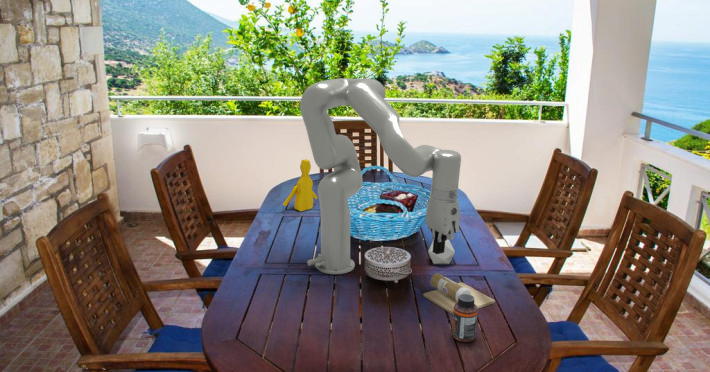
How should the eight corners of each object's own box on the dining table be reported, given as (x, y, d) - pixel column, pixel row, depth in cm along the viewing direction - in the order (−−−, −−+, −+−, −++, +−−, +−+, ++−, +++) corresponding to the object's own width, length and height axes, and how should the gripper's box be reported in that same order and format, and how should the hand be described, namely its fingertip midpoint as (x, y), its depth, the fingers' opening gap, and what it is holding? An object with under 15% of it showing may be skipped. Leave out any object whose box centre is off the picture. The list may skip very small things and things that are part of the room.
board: (455, 316, 158) (455, 313, 158) (423, 296, 169) (423, 293, 169) (494, 302, 166) (495, 300, 165) (461, 284, 177) (461, 281, 177)
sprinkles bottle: (428, 277, 171) (458, 295, 160) (439, 269, 173) (469, 286, 162) (432, 289, 173) (461, 307, 162) (443, 281, 175) (473, 299, 164)
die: (447, 271, 187) (462, 246, 188) (424, 257, 187) (439, 232, 188) (442, 270, 195) (457, 246, 196) (421, 256, 195) (435, 232, 196)
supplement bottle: (449, 331, 150) (451, 291, 147) (471, 330, 151) (474, 291, 148) (454, 343, 145) (457, 303, 141) (478, 342, 145) (481, 302, 142)
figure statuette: (314, 203, 252) (314, 154, 246) (325, 207, 246) (325, 157, 240) (280, 211, 241) (278, 160, 234) (290, 216, 235) (289, 164, 229)
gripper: (471, 199, 160) (465, 259, 166) (437, 184, 172) (431, 241, 178) (451, 203, 157) (445, 264, 162) (417, 187, 168) (412, 245, 174)
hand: (438, 252), depth 170 cm, fingers closed
